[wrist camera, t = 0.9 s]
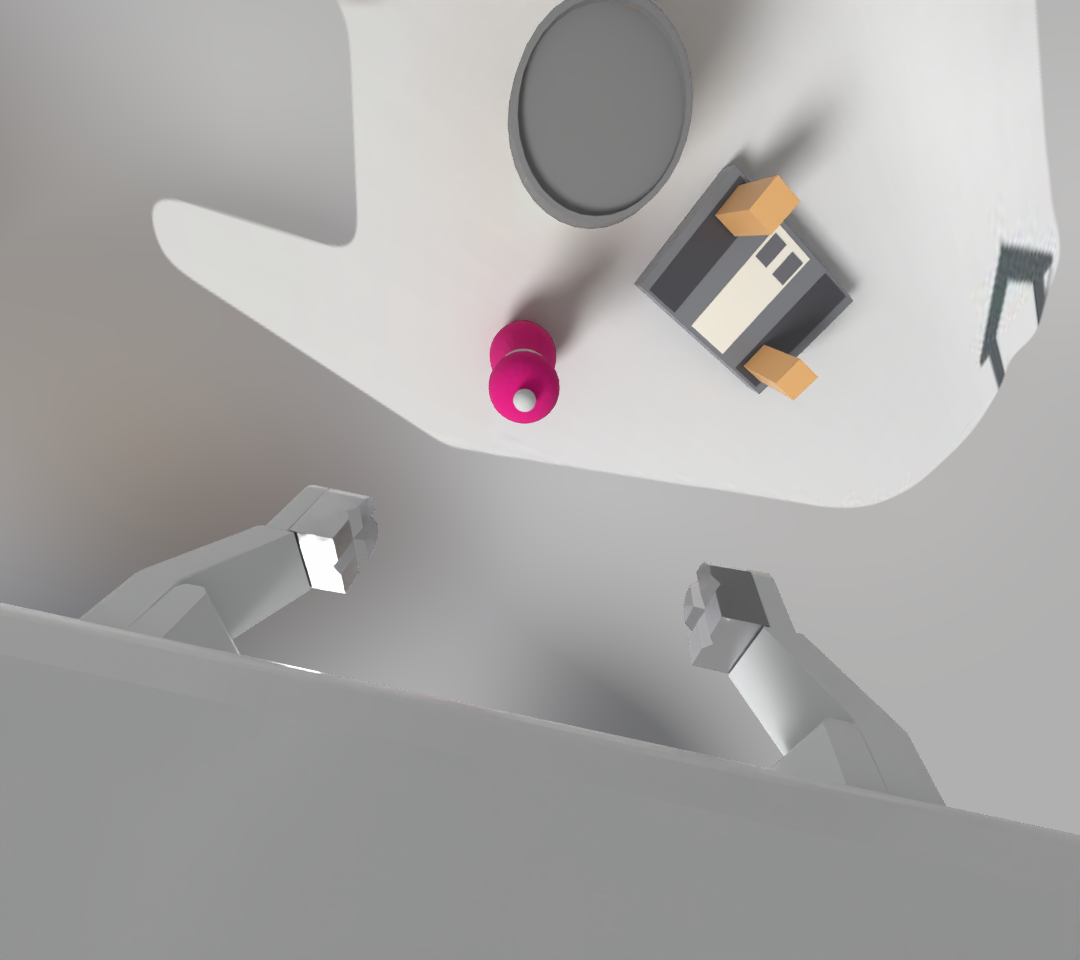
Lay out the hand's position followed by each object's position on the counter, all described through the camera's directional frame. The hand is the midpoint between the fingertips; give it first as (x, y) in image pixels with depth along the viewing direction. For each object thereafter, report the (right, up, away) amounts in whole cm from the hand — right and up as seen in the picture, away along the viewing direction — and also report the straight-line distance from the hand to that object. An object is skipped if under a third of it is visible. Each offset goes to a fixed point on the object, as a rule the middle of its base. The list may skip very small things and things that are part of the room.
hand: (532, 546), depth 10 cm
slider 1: (+19, +28, +31) cm, 46 cm away
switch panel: (+23, +23, +37) cm, 49 cm away
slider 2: (+26, +15, +38) cm, 48 cm away
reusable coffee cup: (+4, +33, +31) cm, 45 cm away
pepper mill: (-2, +17, +39) cm, 43 cm away
